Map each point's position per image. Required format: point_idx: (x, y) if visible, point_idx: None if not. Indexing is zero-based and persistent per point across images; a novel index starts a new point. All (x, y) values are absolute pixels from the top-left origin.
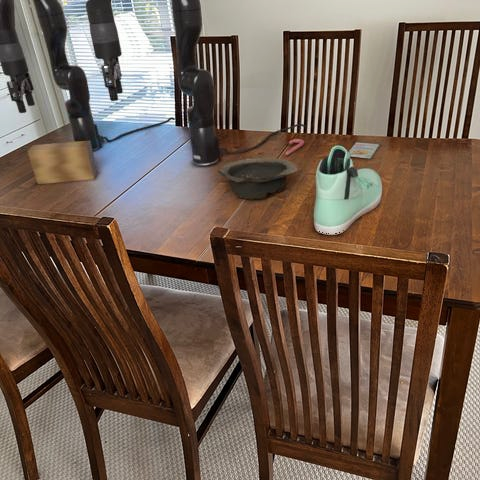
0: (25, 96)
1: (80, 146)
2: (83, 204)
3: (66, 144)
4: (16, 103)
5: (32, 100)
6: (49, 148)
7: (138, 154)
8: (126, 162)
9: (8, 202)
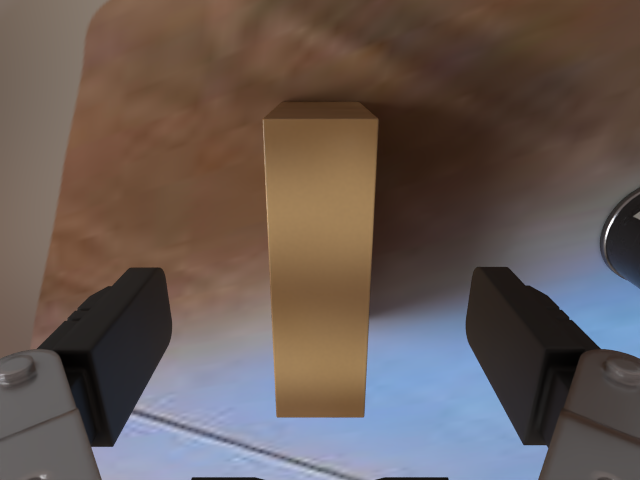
0: (530, 339)
1: (282, 394)
2: None
3: (332, 322)
4: (64, 337)
5: (486, 371)
6: (287, 247)
7: (491, 424)
8: (424, 397)
9: (100, 23)
